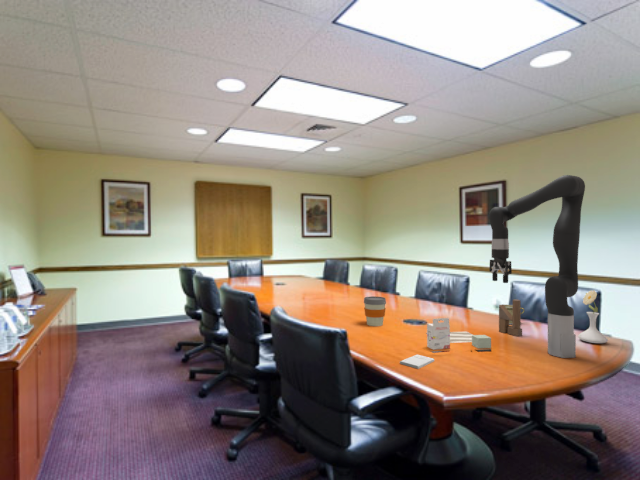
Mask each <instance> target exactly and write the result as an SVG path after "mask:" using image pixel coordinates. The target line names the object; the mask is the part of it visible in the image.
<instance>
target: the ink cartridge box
mask: <svg viewBox="0 0 640 480" xmlns="http://www.w3.org/2000/svg"><path fill="white" fill-rule="evenodd" d="M450 327H451V326H450V318H449V317H441V318H432V323H426V333H427V334H426V346H427V348H428V349H431V350H432V351H430V353H433V354H435V353H445V352H449V350H445V349H451V343H450V332H451V329H450Z"/></svg>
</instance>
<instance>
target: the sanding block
mask: <svg viewBox="0 0 640 480" xmlns="http://www.w3.org/2000/svg"><path fill="white" fill-rule="evenodd" d="M471 346H473V347H474V348H476V349H474V351H475V352H478V353H483V352H484V353H485V352H486V353H487V352H492V349H491V348H492V337H490V336H488V335H486V334H473V335H472V342H471Z"/></svg>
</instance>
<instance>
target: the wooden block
mask: <svg viewBox="0 0 640 480" xmlns="http://www.w3.org/2000/svg"><path fill="white" fill-rule="evenodd" d="M504 305H505V304H498V332H499V333H502V334H508V335H511V336H515V337H522V336H523V328H522V327H521V326H522V325H521V315H522V314H521V313H522V312H521V308H522V307H521V300H520V299H516V298H514V299H512V305H513V316H512V315H511V314H510V312H509V311H508V310H507V308H506V307H505V306H504ZM509 320H510V321H512V325H509Z"/></svg>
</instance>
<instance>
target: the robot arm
mask: <svg viewBox="0 0 640 480" xmlns="http://www.w3.org/2000/svg"><path fill="white" fill-rule="evenodd" d="M585 191H586V183H585V181H584V179H583V178H582V177H580V176H578V175H577V176H576V175H571V174H570V175H569V174H565V175H561V176H559V177H557V178H555V179H554V180H552V181H551V182H549V183H548V184H546V185H545V186H543V187H541V188H539V189H537V190H535V191H533V192H531V193H529V194H527V195H524V196H522V197H519V198H517V199H514V200H512V201H511V202H509V204H508V205H507V206H504V207H503V206H494V207H492V208H491V210H490V211H489V214H488V215H489V216H488V217H489V224H490V228H491V232H492V233H491V234H492V235H491V236H492V237H491V259H489V268H488V269H489V272H490V273H491V274H492V281H493V282H497V281H498V272H499V270H500V272H501V273H502V283H504V284H508V283H509V275H512V273H513V272H512V271H513V270H512V261H511V260H507V259H509V258H510V254H509V253H510V249H509V248H510V242H509V228H508V227H507V226H505V224H504V223H505V222H509V221H511V220H513V219H514V218H516V217H518V216H520V215H523V214H525V213H527V212H530V211H532V210H535V209H536V208H537V207H539V206H540V205H542V204H544V203H547V202H549V201H551V200H555V199H559V198H561V210H560V213H559V216H558V217H557V220H556V222H555V224H554V227H553V235H552V247H553V249H554V250H553V251H554V252H555V255H556V257H557V260H558V275H554V276H553V275H552V276H551V277H550V276H549V277H548V279H547V280H546V281H545V285H544V297H545V298H544V299H545V307H546V308H547V354H549V355H551V356H554V357H558V358H561V359H564V358H565V359H567V358H569V359H570V358H577V354H576V353H577V352H576V345H577V344H576V341H577V340H576V337H577V336H576V333H575V330H574V329H575V327H574V325H575V323H574V322H575V317H574V315H575V309H574V308H573V307H572V306H570V305H569V304H568V298H571V297H573V296H575V295H577V294H578V293H577V292H578V289H579V273H578V260H579V247H580V234H581V217H582V215H581V214H582V206H583V200H584V196H585Z"/></svg>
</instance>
